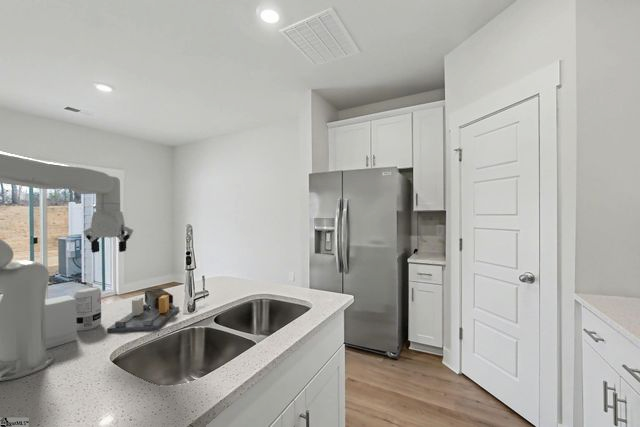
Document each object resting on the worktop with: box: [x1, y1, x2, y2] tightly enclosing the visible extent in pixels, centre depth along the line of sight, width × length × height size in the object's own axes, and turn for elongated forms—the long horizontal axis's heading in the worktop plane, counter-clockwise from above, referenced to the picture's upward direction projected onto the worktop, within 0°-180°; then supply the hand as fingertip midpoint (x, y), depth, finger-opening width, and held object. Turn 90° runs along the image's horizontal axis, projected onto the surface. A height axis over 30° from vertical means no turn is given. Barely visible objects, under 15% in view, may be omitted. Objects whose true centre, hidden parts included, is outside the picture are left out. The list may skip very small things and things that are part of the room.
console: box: [106, 302, 180, 333], centre depth 115 cm, size 21×18×4 cm
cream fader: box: [131, 296, 144, 316], centre depth 117 cm, size 4×2×7 cm, turn 7°
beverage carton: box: [144, 287, 174, 308], centre depth 134 cm, size 8×19×7 cm, turn 45°
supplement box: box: [45, 294, 78, 350], centre depth 96 cm, size 9×9×15 cm
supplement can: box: [73, 286, 102, 332], centre depth 108 cm, size 8×8×15 cm
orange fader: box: [159, 295, 169, 313], centre depth 120 cm, size 4×2×7 cm, turn 7°
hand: (109, 251), depth 106 cm, fingers open, 9 cm apart
